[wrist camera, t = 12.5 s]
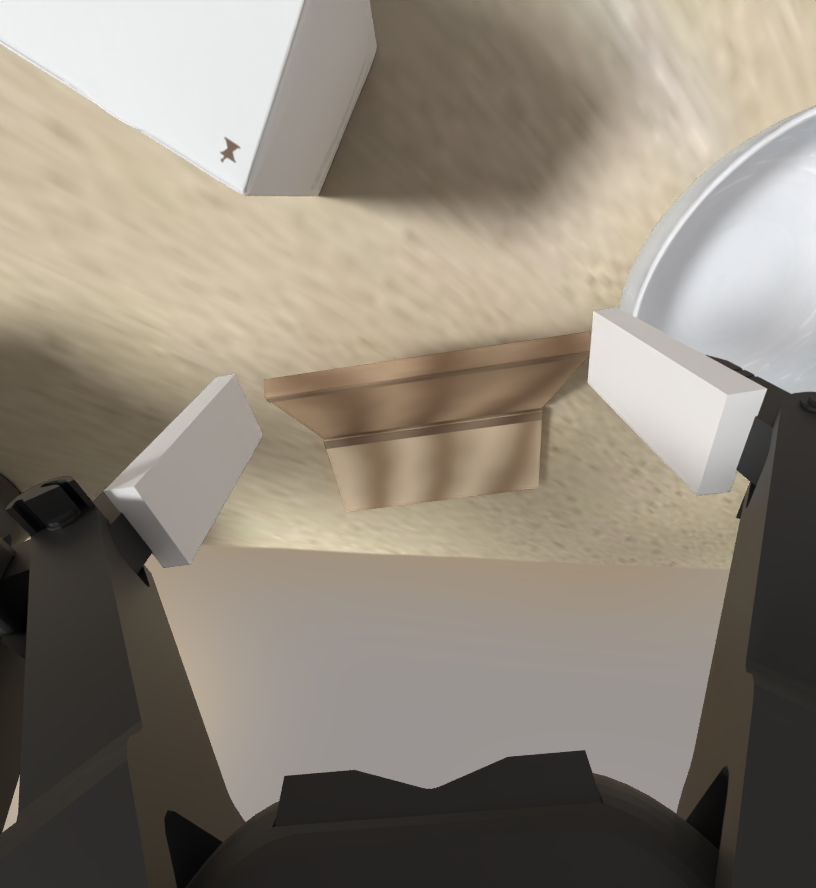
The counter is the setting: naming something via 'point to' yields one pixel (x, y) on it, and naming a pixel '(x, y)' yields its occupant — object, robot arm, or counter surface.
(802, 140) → the serving bowl
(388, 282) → the counter surface
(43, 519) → the robot arm
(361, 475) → the laid plank
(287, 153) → the supplement box
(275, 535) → the counter surface
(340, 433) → the plank
